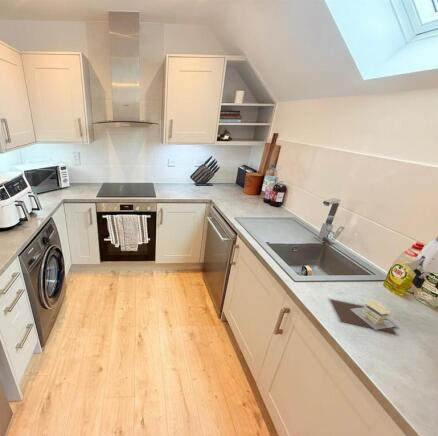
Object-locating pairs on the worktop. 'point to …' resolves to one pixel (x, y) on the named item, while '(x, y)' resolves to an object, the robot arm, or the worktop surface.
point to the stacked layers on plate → (374, 314)
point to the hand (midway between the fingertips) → (427, 287)
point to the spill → (353, 315)
